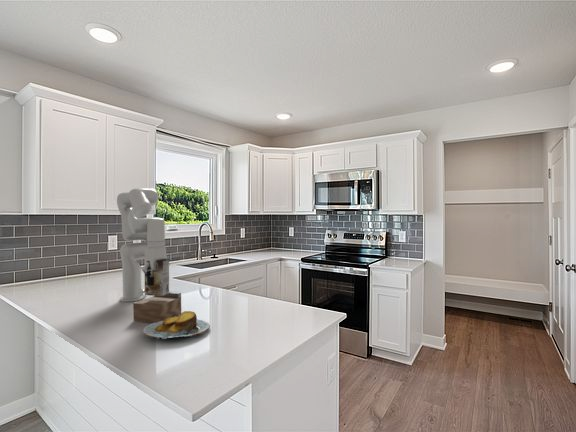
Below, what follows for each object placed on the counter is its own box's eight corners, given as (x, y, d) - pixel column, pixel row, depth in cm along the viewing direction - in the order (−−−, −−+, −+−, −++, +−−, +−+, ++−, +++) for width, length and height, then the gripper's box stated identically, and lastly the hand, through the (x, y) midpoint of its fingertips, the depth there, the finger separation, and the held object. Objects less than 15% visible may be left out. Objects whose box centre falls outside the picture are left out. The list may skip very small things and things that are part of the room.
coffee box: (143, 295, 141) (143, 260, 141) (151, 292, 147) (150, 258, 147) (163, 296, 140) (162, 260, 140) (170, 292, 146) (169, 258, 146)
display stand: (157, 311, 154) (157, 290, 154) (181, 313, 149) (181, 292, 149) (133, 321, 139) (133, 298, 139) (159, 324, 135) (158, 301, 135)
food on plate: (136, 331, 128) (136, 315, 128) (195, 318, 144) (195, 303, 144) (153, 352, 108) (153, 333, 108) (219, 334, 124) (219, 317, 124)
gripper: (162, 243, 153) (163, 279, 153) (134, 246, 136) (135, 287, 137) (175, 243, 150) (176, 280, 151) (148, 247, 134) (149, 288, 134)
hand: (156, 283), depth 144 cm, fingers closed on coffee box, 7 cm apart
